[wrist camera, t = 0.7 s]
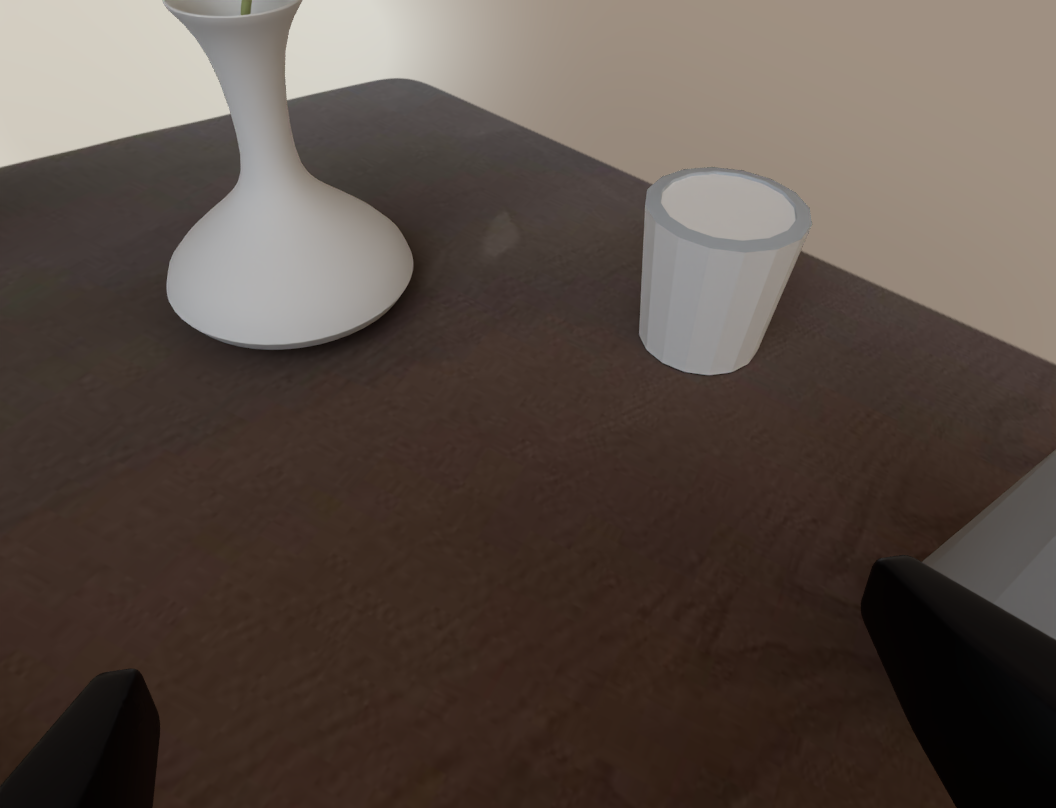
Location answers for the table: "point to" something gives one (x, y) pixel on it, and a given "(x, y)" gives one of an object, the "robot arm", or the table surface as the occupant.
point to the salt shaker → (1011, 550)
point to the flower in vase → (276, 209)
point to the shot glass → (715, 265)
